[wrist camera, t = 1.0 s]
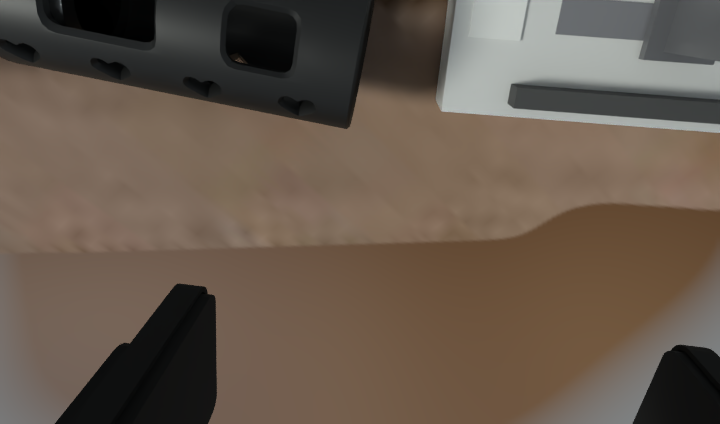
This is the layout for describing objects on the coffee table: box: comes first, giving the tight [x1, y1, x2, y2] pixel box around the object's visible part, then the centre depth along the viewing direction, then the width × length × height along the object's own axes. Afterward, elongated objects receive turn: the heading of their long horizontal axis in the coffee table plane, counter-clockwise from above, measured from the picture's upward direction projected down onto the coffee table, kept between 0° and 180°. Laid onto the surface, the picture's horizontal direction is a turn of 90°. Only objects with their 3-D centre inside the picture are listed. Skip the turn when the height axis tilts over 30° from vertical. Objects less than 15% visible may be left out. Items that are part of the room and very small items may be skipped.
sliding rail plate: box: [507, 84, 720, 124], centre depth 27 cm, size 10×18×2 cm, turn 86°
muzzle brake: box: [0, 0, 375, 129], centre depth 28 cm, size 10×28×10 cm, turn 79°
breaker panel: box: [436, 0, 720, 133], centre depth 29 cm, size 12×26×4 cm, turn 86°
